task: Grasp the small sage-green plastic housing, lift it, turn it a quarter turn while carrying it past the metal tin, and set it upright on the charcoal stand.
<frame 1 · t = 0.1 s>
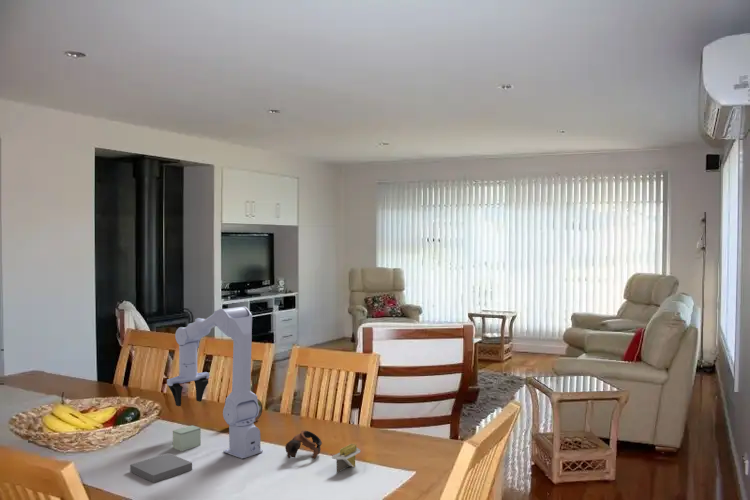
hand: (188, 403, 208), 10 cm above the table, fingers open, 7 cm apart
stand: (161, 470, 175), on the table
brown curved band: (301, 457, 186), on the table
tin: (243, 424, 218), on the table
platform: (347, 470, 177), on the table
housing: (186, 446, 195), on the table
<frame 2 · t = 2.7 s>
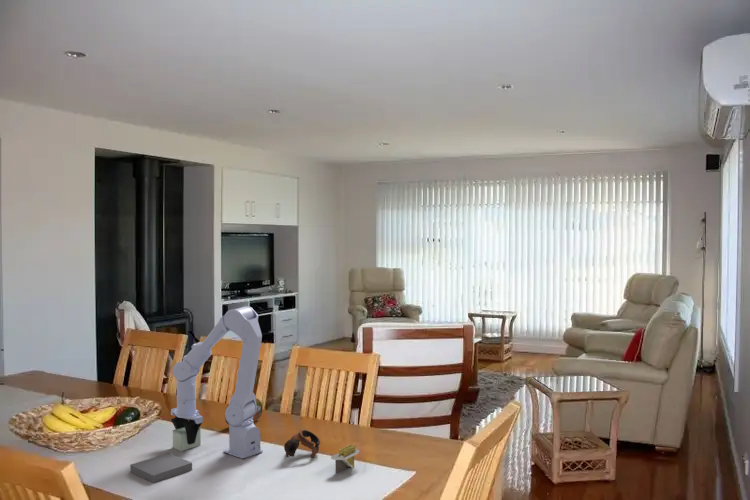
hand: (186, 441, 195), 1 cm above the table, fingers closed on housing, 4 cm apart
housing: (186, 446, 195), on the table, touching gripper
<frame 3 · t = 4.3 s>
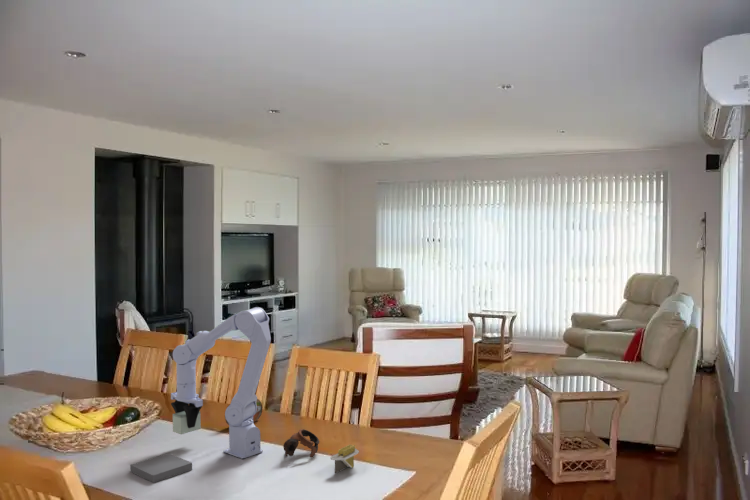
hand: (186, 425, 195), 7 cm above the table, fingers closed on housing, 4 cm apart
housing: (186, 430, 195), point 5 cm above the table, touching gripper
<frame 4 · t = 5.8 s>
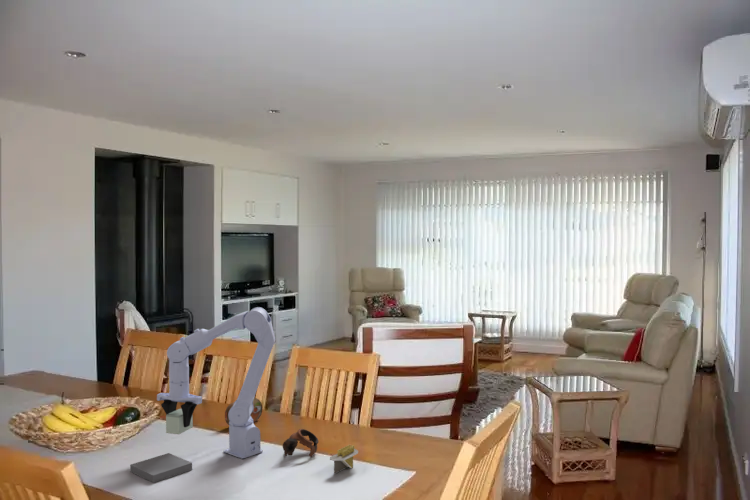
hand: (179, 425, 189), 8 cm above the table, fingers closed on housing, 4 cm apart
housing: (179, 430, 189), point 7 cm above the table, touching gripper
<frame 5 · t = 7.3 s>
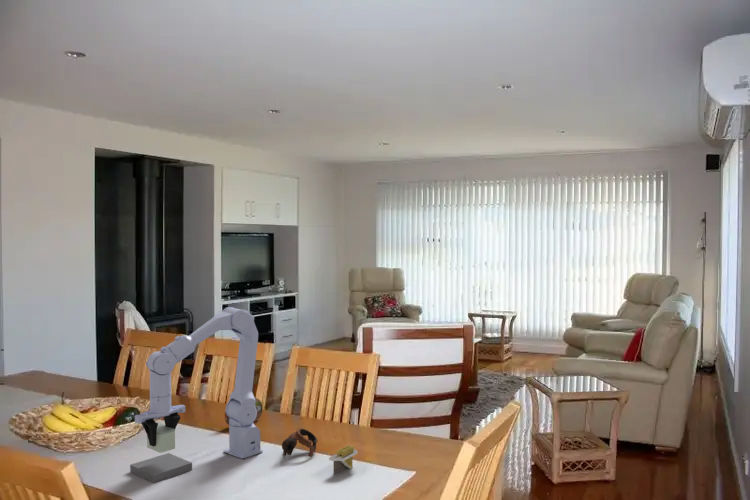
hand: (161, 443, 175), 8 cm above the table, fingers closed on housing, 4 cm apart
housing: (161, 448, 175), point 6 cm above the table, touching gripper
when the fingers open (4 cm above the table, at t = 8.8 s): housing stays where it is, resting on stand.
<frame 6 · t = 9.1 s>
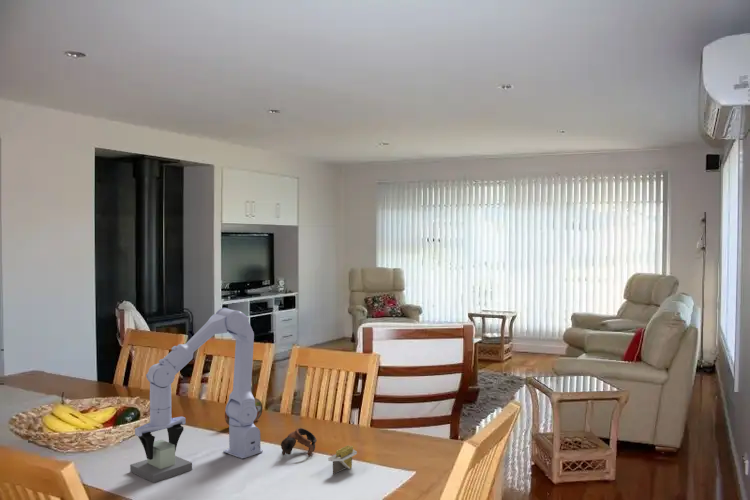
hand: (161, 455, 175), 4 cm above the table, fingers open, 6 cm apart
housing: (161, 463, 175), point 2 cm above the table, touching stand
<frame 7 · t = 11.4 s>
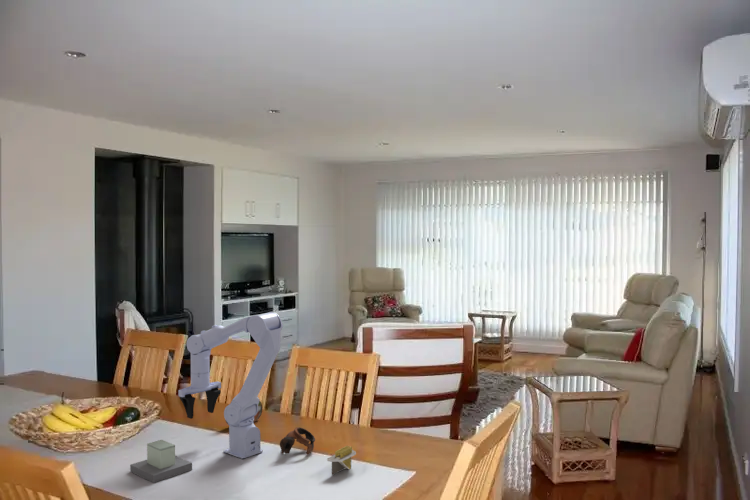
hand: (200, 415, 196), 9 cm above the table, fingers open, 7 cm apart
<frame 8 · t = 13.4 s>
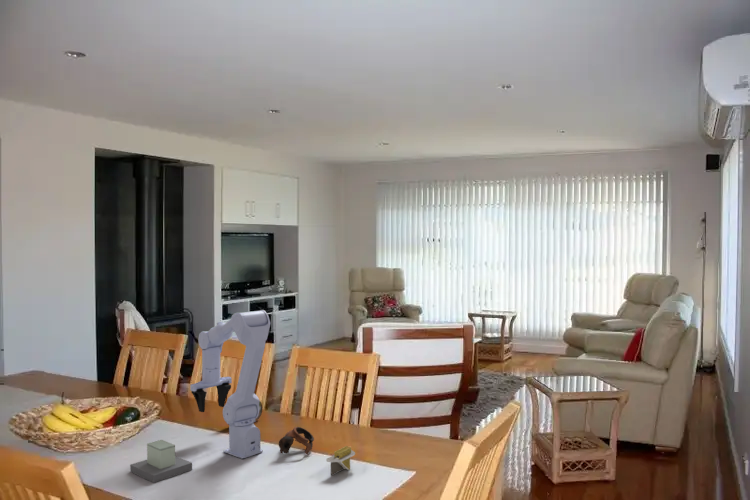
hand: (211, 408, 203), 9 cm above the table, fingers open, 7 cm apart
at the end: housing inside the target area on the stand (0.0 cm from its centre), point 2.0 cm above the stand's base; housing tilted 0°; the gripper is holding nothing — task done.
